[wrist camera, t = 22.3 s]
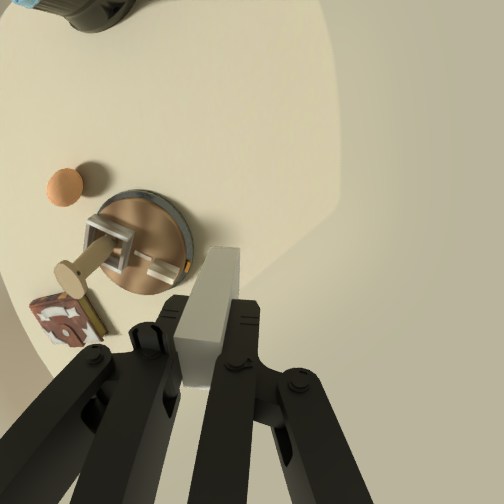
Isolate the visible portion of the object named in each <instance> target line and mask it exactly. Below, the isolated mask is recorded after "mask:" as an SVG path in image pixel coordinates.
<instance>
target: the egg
mask: <svg viewBox="0 0 504 504" xmlns="http://www.w3.org/2000/svg"><path fill="white" fill-rule="evenodd" d="M82 191H83V181H82V178H81V176H80V175H79V173H78V172H77V171H75V170H73V169H69V168H65V169H61V170H59V171H57V172H56V173H55V174H54V175H53V176H52V177H51V179H50V180H49V182H48V185H47V196H48V199H49V200H50V201H51V202H52V203H53V204H54V205H56V206H60V207H66V206H70V205H72V204H74V203H75V202H76V201H77V200H78V199H79V198H80V196H81V194H82Z"/></svg>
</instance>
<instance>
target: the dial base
mask: <svg viewBox="0 0 504 504" xmlns="http://www.w3.org/2000/svg"><path fill="white" fill-rule="evenodd" d="M127 197H139V198H144V199H147V200H150V201H152V202H154V203H156V204H158V205H159V206H161V207H162V208H164V209H165V210H166V211H167V212H168V213H169V214H170V215H171V216H172V217H173V218H174V219H175V221H176V222H177V223H178V225H179V227H180V229H181V231H182V233H183V235H184V239H185V242H186V249H187V256H186V263H185V266H184V269H183V271H182V273H181V275H180V277H179V278H178V280H177V281H176V283H175V284H174V285H173V286H172V287H170V288H169V289H171V288H173V287H175V286H176V285H177V284H179V283H180V282H181V281H182V280H183V278H184V277H185V276H186V274H187V273H188V270H189V268H190V266H191V263H192V259H193V240H192V236H191V232H190V230H189V227H188V225H187V223H186V221H185V219H184V218H183V217H182V215H181V214H180V212H179V211H178V210H177V209H176V208H175V207H174V206H173V205H172V204H171V203H169V202H168V201H167V200H165V199H164V198H162V197H160V196H158V195H156V194H154V193H151V192H148V191H143V190H128V191H124V192H121V193H119V194H116V195H115V196H113V197H111V198H110V199H108V200H107V201H106V202H105V203H104V204H103V205H102V207H101V208H100V210H99V211H98V213H97V215H99V213H100V212H101V211H102V210H103V209H104V208H105V207H107V206H108V205H110V204H112V203H113V202H115V201H117V200H119V199H122V198H127ZM169 289H168V290H169Z"/></svg>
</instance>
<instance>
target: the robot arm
mask: <svg viewBox="0 0 504 504" xmlns="http://www.w3.org/2000/svg"><path fill="white" fill-rule="evenodd" d="M12 1H13V2H14V3H15V4H18V5H21V6H24V7H26V8H27V9H30V8H32V9H36V10H41V11H45V12H49V13H52V14H56V15H60V16H63V17H64V18H65V19H66V20H68V21H69V23H70V25H71V26H72V27H73V28H75V29H76V30H78V31H81V32H85V33H97V32H100V31H103V30H105V29H107V28H109V27H111V26H113V25H114V24H115V23H117V22H118V21H119V20H120V19H122V18H123V17H124V16H125V15H126V14H127V12H128V11H129V10H130V9H131V7H132V6H133V4H134V2H135V0H12ZM239 273H240V248H232V247H216V246H210V248H209V251H208V253H207V255H206V258H205V260H204V263H203V265H202V267H201V270H200V272H199V274H198V277H197V279H196V282H195V284H194V286H193V289H192V291H191V294H190V296H184V295H173V296H171V297H170V298H169V299H168V300H167V301H166V302H165V304H164V306H163V308H162V311H161V312H160V314H159V317H158V318H157V320H156V322H143V323H139V324H137V325H135V326H134V327H132V328H131V329H130V331H129V332H128V333H129V336H130V339H131V342H132V345H133V349H134V350H133V351H132V352H126V353H111V351H110V349H109V348H108V347H107V346H105V345H102V344H92V345H89V346H87V347H85V348H84V349H83V350H81V351H80V352H79V353H78V354H77V355H76V357H75V358H74V359H73V360H72V361H71V362H70V363H69V364H68V365H67V366H66V367H65V368H64V369H63V370H62V371H61V372H60V373H59V374H58V375H57V376H56V377H55V378H54V379H53V380H52V382H51V383H50V384H49V385H48V386H47V387H46V388H45V389H44V390H43V391H42V392H41V393H40V395H39V396H38V397H37V398H36V399H35V400H34V401H33V402H32V403H31V404H30V406H29V407H28V408H27V409H26V410H25V411H24V412H23V413H22V415H21V416H20V417H19V418H18V419H17V420H16V421H15V423H14V424H13V425H12V426H11V427H10V428H9V430H8V431H7V432H6V433H5V434H4V435H3V437H2V438H1V439H0V504H58V503H59V501H60V500H61V499H62V497H63V496H64V494H65V493H66V492H67V490H68V489H69V487H70V486H71V485H72V483H73V482H74V480H75V479H76V477H77V476H78V475H79V473H80V475H79V478H78V481H77V484H76V486H75V489H74V492H73V495H72V498H71V501H70V504H154V501H155V497H156V493H157V488H158V484H159V480H160V476H161V472H162V468H163V464H164V460H165V455H166V452H167V447H168V444H169V440H170V436H171V432H172V428H173V425H174V421H175V417H176V413H177V410H178V406H179V402H180V397H181V393H180V389H179V388H180V384H181V381H183V386H184V387H189V388H196V389H204V390H209V395H208V401H207V405H206V410H205V415H204V420H203V425H202V431H201V435H200V440H199V445H198V450H197V455H196V461H195V466H194V471H193V476H192V481H191V486H190V492H189V497H188V502H187V504H247V492H248V480H249V468H250V454H251V442H252V428H253V421H256V422H259V423H262V424H265V425H268V426H270V427H271V430H272V434H273V438H274V441H275V445H276V449H277V452H278V456H279V459H280V463H281V466H282V469H283V473H284V477H285V480H286V484H287V487H288V491H289V494H290V497H291V501H292V504H373V501H372V499H371V496H370V494H369V492H368V489H367V487H366V485H365V482H364V480H363V478H362V476H361V473H360V471H359V469H358V466H357V464H356V461H355V459H354V457H353V455H352V452H351V450H350V448H349V445H348V443H347V441H346V439H345V436H344V434H343V432H342V430H341V427H340V425H339V423H338V420H337V418H336V416H335V413H334V411H333V409H332V407H331V404H330V402H329V400H328V398H327V396H326V393H325V391H324V388H323V387H322V384H321V382H320V380H319V378H318V377H317V376H316V374H314V373H313V372H312V371H310V370H307V369H304V368H292V369H288V370H286V371H285V372H283V373H281V372H278V371H275V370H272V369H270V368H268V367H266V366H265V365H264V364H263V363H262V362H261V361H260V359H259V357H258V338H259V321H260V307H259V306H258V304H257V302H256V301H254V300H240V299H238V296H239Z"/></svg>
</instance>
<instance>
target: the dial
mask: <svg viewBox="0 0 504 504" xmlns="http://www.w3.org/2000/svg"><path fill="white" fill-rule="evenodd" d="M106 234H110V235H112V236H115V237H116V243H117V246H116V248H115V249H114V250H113V251H112V253H111V254H110V256H109V257H108V258H107V259H106V260H105V261H104V262H103V263H102V264H101V265H100V267H101V269H102V270H103V272H104V273H105V274H106V275H107V276H108V277H109V278H110V279H111V280H112V281H113V282H114V283H115V284H117V285H118V286H120V287H121V288H123V289H125V290H127V291H130V292H132V293H136V294H141V295H154V294H159V293H161V292H164V291H166V290H168V289H169V288H170V287H172V286H173V285H174V284H175V283H176V281H177V280H178V278H179V277H180V275H181V273H182V271H183V269H184V266H185V263H186V256H187V249H186V242H185V239H184V235H183V233H182V231H181V229H180V227H179V225H178V223H177V222H176V221H175V219H174V218H173V217H172V216H171V215H170V214H169V213H168V212H167V211H166V210H165V209H164V208H162V207H161V206H159V205H158V204H156V203H154V202H152V201H150V200H147V199H144V198H139V197H127V198H122V199H119V200H117V201H115V202H113V203H112V204H110V205H108V206H107V207H105V208H104V209H103V210H102V211H101V212H100V213H99V215H97V214H94V215H93V216H91V217H90V218H89V219H87V223H86V230H85V238H84V247H83V252H84V251H85V250H86V249H87V248H88V247H89V246H90V245H91V244H92V243H93V242H94V241H96V240H97V239H99V238H101V237H103V236H105V235H106Z"/></svg>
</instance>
